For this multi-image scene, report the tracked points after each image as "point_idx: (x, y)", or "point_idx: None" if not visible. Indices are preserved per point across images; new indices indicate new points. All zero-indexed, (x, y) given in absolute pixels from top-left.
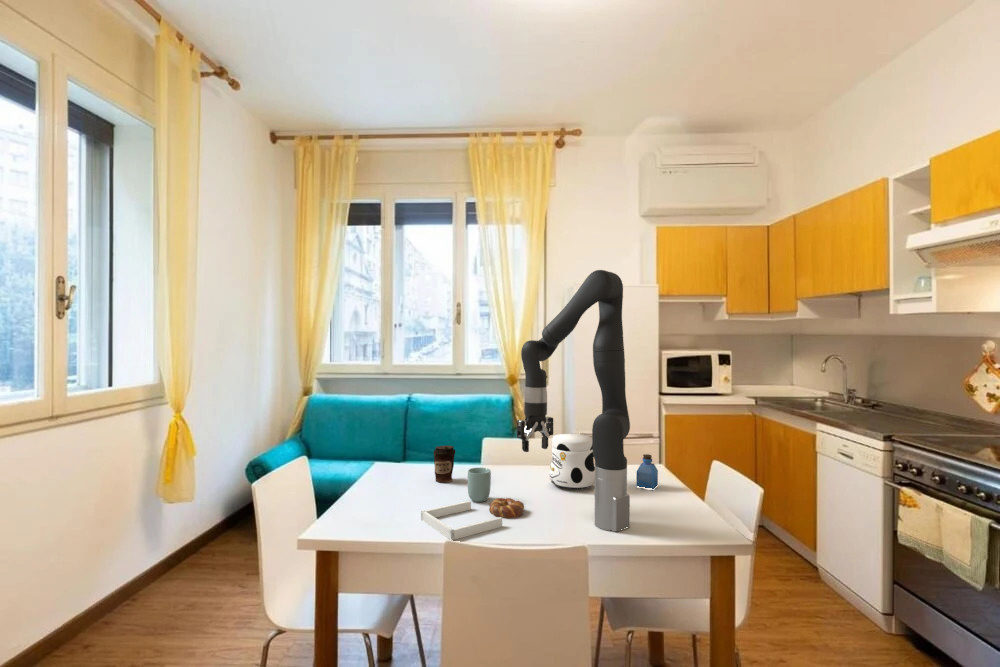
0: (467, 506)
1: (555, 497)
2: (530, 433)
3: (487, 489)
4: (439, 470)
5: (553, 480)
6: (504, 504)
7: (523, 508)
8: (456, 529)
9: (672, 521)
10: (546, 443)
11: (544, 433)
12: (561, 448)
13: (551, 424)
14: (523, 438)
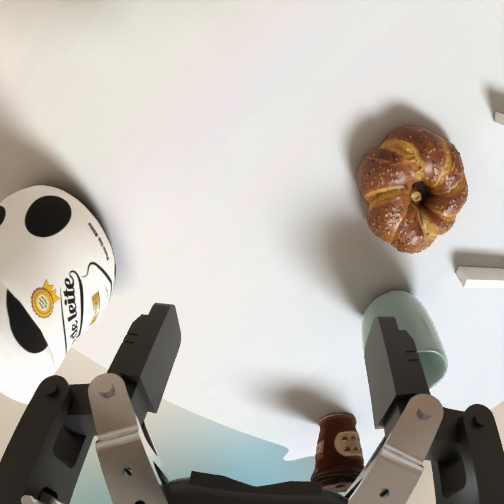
0: (471, 272)
1: (166, 191)
2: (409, 462)
3: (401, 307)
4: (359, 440)
5: (113, 272)
6: (415, 207)
7: (377, 148)
8: None
9: None
10: (151, 335)
11: (140, 429)
12: (30, 328)
13: (20, 472)
14: (471, 412)
